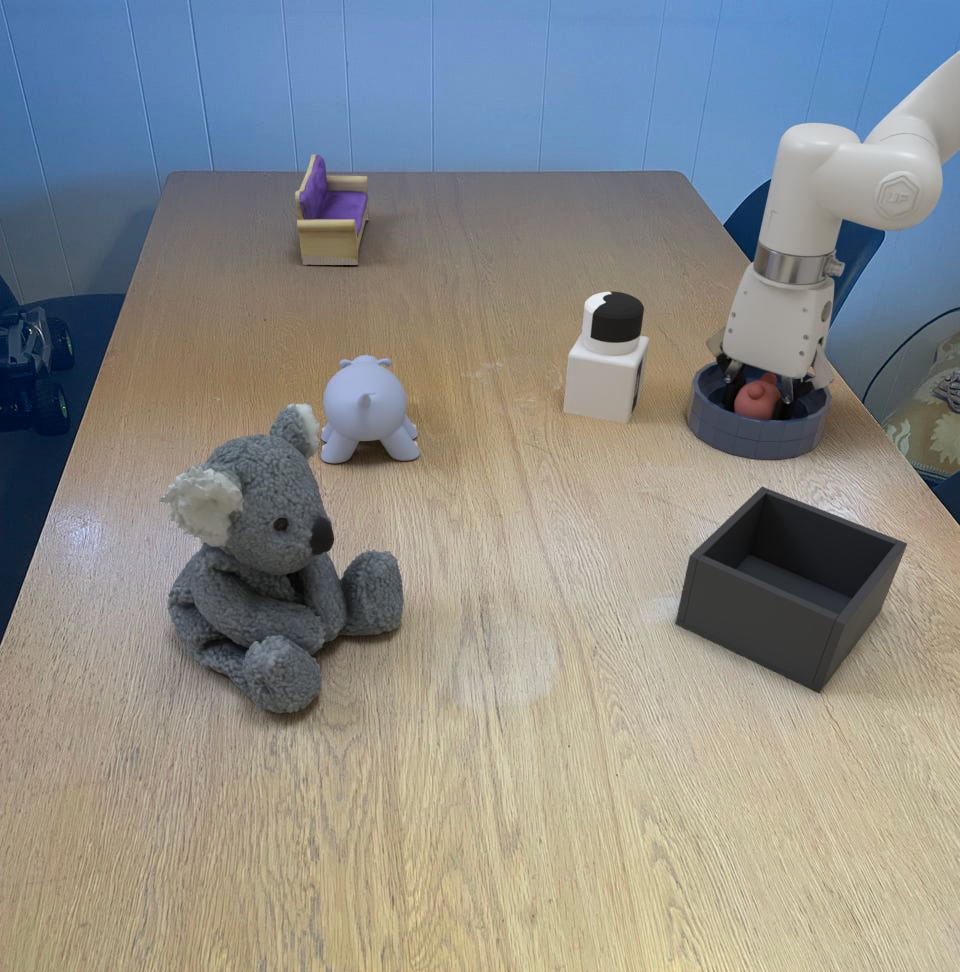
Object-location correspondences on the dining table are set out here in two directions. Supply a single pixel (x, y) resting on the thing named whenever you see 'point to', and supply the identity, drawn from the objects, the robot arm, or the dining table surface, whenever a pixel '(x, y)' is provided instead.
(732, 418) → the bowl
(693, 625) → the bin
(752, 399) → the plush toy
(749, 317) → the robot arm
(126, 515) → the dining table surface
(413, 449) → the hippopotamus toy
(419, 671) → the dining table surface
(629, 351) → the container
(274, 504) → the koala plush
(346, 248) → the toy sofa
